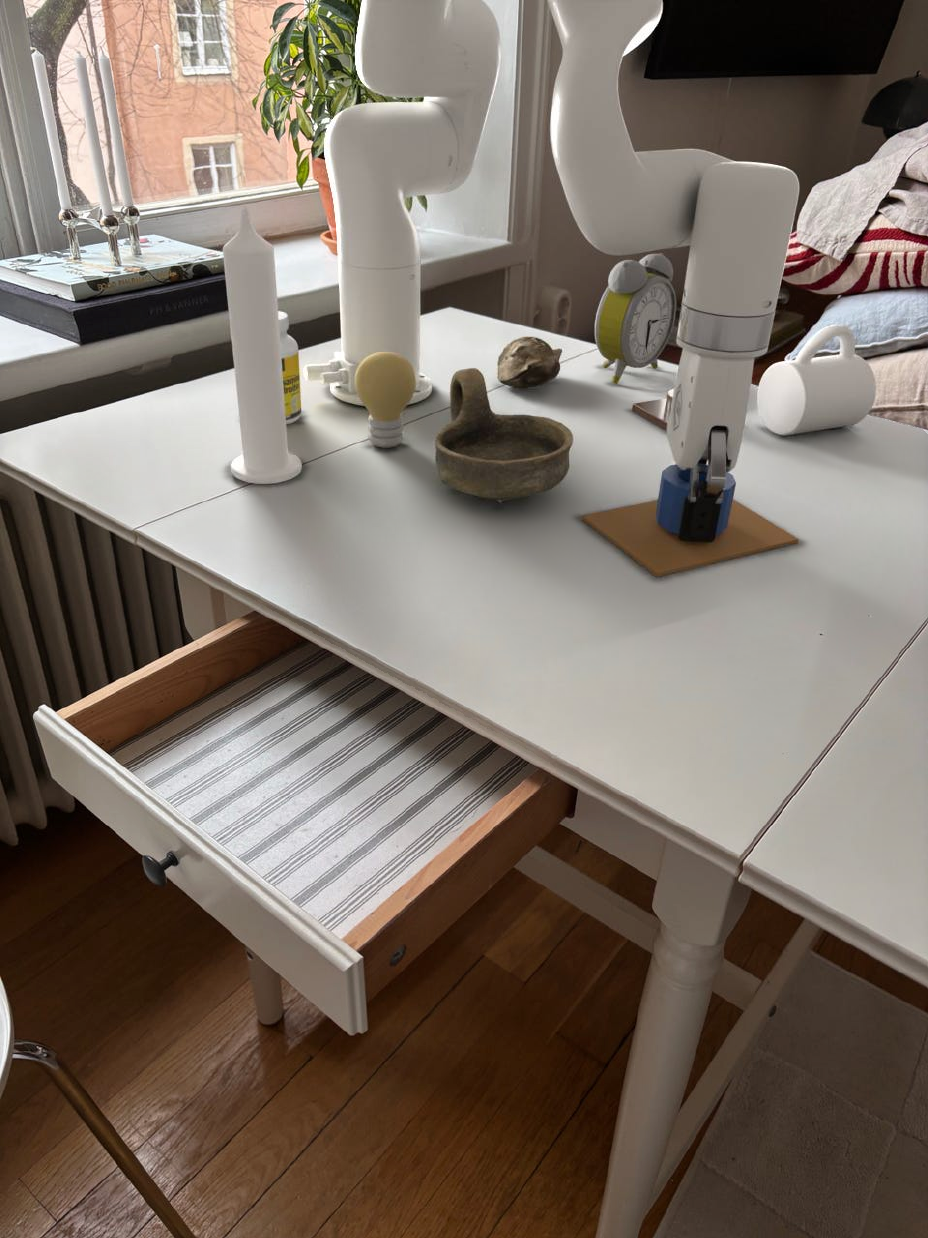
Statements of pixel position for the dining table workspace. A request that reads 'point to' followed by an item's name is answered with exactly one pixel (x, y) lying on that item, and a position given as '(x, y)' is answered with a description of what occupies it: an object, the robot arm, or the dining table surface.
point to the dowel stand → (655, 410)
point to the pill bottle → (289, 371)
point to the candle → (257, 358)
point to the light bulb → (385, 395)
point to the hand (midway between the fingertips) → (690, 520)
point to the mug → (817, 387)
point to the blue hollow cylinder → (677, 489)
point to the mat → (669, 554)
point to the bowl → (498, 446)
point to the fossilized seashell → (528, 363)
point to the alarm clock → (636, 313)
